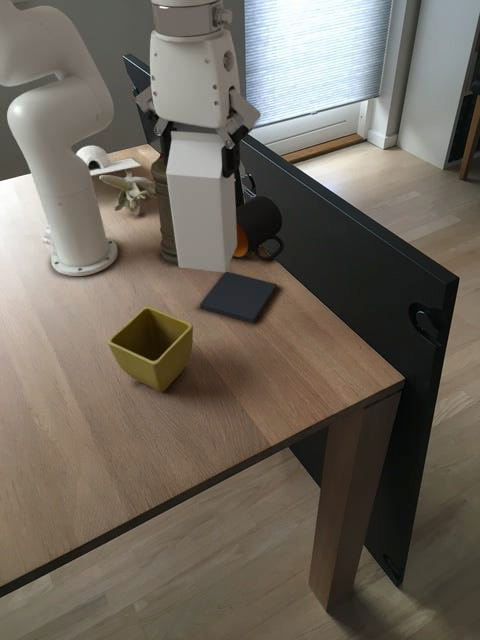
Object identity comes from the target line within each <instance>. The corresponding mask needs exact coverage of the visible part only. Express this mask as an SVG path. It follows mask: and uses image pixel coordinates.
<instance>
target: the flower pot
mask: <svg viewBox="0 0 480 640" xmlns="http://www.w3.org/2000/svg"><path fill="white" fill-rule="evenodd" d="M193 336H194V324H192V323H190V322H188V321H185V320H183V319H180V318H178V317H175V316H173V315H170V314H168V313H165V312H163V311H161V310H159V309H156V308H154V307H151V306H146V305H145V306H144V307H143V308H141V309H140V310H139V311H138V312H137V313H136V314H135V315H134V316H133V317H132V318H131V319H130V320H129V321H128V322H127V323H126V324H125V325H123V326H122V327H121V328H120V329H119V330H118V331H116V333H114V334H113V335H112V336H111V337H110V338H108V340H107V341H106V343H107V345H108V346H109V349H110V351H111V353H112V354H113V357H114V359H115V360H116V362H117V364H118V366H119V367H120V368H121V369H122V370H123V372H125V373H126V374H127V375H128V376H129V377H131V378H132V379H134V380H136V381H137V382H140V383H142V384H143V385H146V386H147V387H149V388H151V389H154V390H155V391H158V392H159V393H164V392H165V391H166V390H167V389H168V387H169V386H170V385H171V384H172V383H173V382H174V381H175V380H176V379H177V378H178V376H179V375H180V374H182V372H183V371H184V369H185V368H186V366H187V365H188V363H189V361H190V359H191V357H192V353H193V341H194V340H193V339H194V338H193Z"/></svg>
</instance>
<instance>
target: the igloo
mask: <svg viewBox="0 0 480 640" xmlns="http://www.w3.org/2000/svg"><path fill="white" fill-rule="evenodd" d="M75 154H76V155H78V156H79V157H80V158H81V159H83V160H84V161H85V163H86V164H87V166H88V168H89V170H90V173H91V177H92V176H93V177H94V176H98V175H104V174H108V173H114V172H117V171H123V170H124V169H128V168H131V169H132V168H138V167H141V166H142V165H141V164H140V163H139V162H137V161H136V160H135V159H133V158H126V159H125V158H124V159H120V160H115V161H111V162H110V158H109V155H108V153H107V151H105V149H103V148H102V147H100V146H97V145H86V146H83V147H81V148H80V149H79V150H77V152H76V153H75Z"/></svg>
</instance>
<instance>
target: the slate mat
mask: <svg viewBox="0 0 480 640" xmlns="http://www.w3.org/2000/svg"><path fill="white" fill-rule="evenodd" d="M277 289H278V284H277V283H274V282H270V281H266V280H262V279H257V278H255V277H250V276H246V275H242V274H238V273H235V272H230V271H226V273H223V274H222V276H221V277H219V280H218V281H217V282H216V283H215V284H214V286H213V287H212V288H211V289H210V291H209V292H208V293H207V294H206V296H205V297H204V299H203V300H202V301H201V302H200V304H199V308H200V310H204V311H208V312H210V313H215V314H218V315H222V316H225V317H229V318H232V319H237V320H240V321H243V322H247V323H250V324H255V323H256V322H257V320H258V318H259V316H260V315H261V314H262V312H263V310H264V309H265V307H266V306H267V304H268V303H269V301H270V299H271V298H272V297H273V295H274V293H275V292H276V291H277Z"/></svg>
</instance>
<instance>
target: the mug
mask: <svg viewBox="0 0 480 640" xmlns="http://www.w3.org/2000/svg"><path fill="white" fill-rule="evenodd" d="M282 227H283V216H282V213H281V210H280V208H279V207H278V205H277V204H276V202H274V201H273V200H272V199H271V198H269V197H267V196H264V195H257V196H254V197H253V198H251V199H249V200H248V201H246V202H244V203H243V204H241V205H239V206H238V207H236V229H237V246H236V249H235V251H234V254H233V256H232V258H236V259H242V258H244V257H246V256H247V255H248V254H250V253H251V252H252V253H254V254H255V257H256V258H257V259H258V260H260V261H264V262H268V261H272V260H274V259H275V258H276V257H278V256H279V255H280V254H282V253H283V251H284V249H285V243H284V240H282V238H280V236H278V235H277V234H278V233H279V232H280V231H281V230H282ZM268 240H275V241H276V242H278V244H279V248H278V249H277V250H275V252H273V253H271V254H270V255H267V256H263V255H261V254H260V246H261V245H263V244H264V243H265V242H268Z"/></svg>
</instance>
